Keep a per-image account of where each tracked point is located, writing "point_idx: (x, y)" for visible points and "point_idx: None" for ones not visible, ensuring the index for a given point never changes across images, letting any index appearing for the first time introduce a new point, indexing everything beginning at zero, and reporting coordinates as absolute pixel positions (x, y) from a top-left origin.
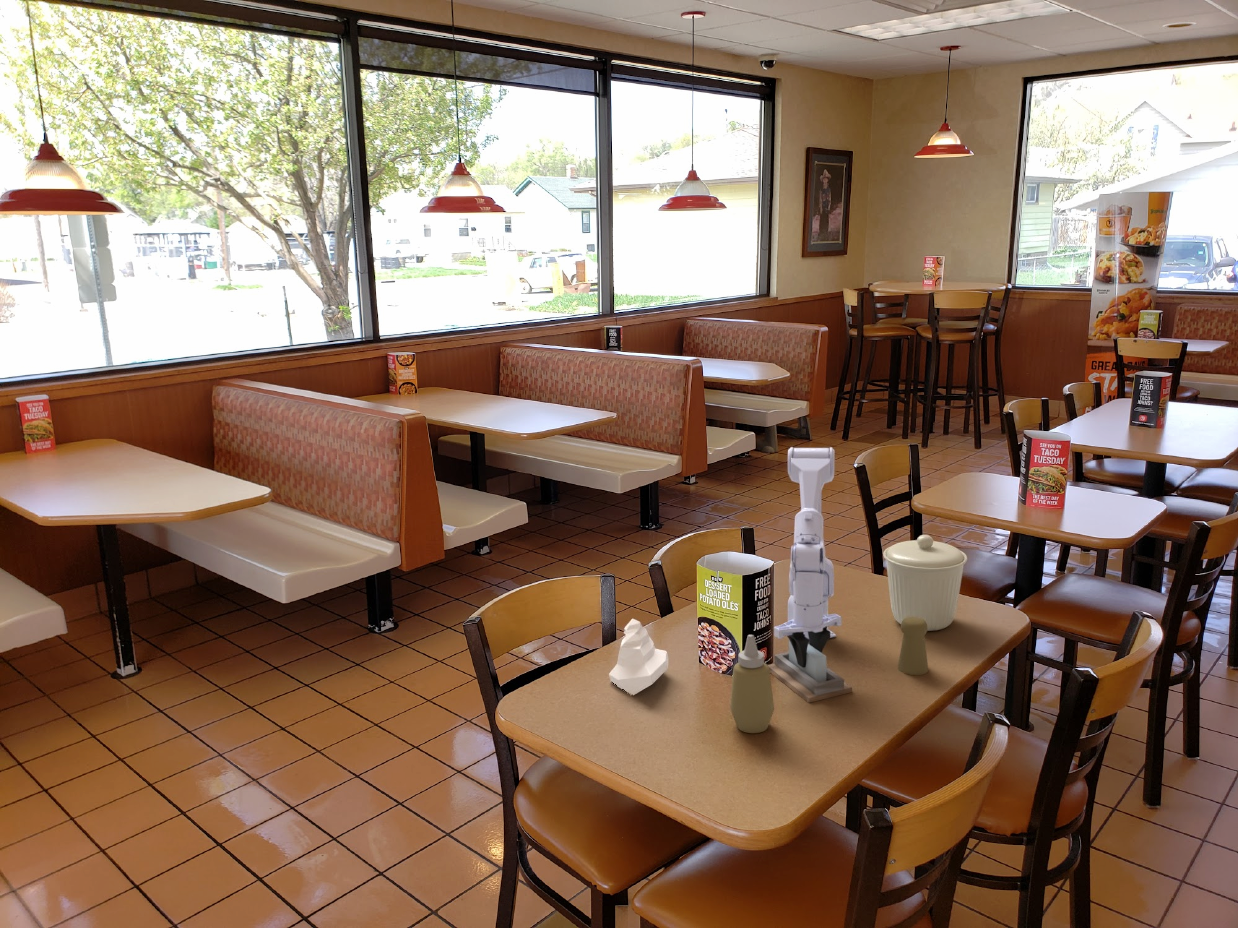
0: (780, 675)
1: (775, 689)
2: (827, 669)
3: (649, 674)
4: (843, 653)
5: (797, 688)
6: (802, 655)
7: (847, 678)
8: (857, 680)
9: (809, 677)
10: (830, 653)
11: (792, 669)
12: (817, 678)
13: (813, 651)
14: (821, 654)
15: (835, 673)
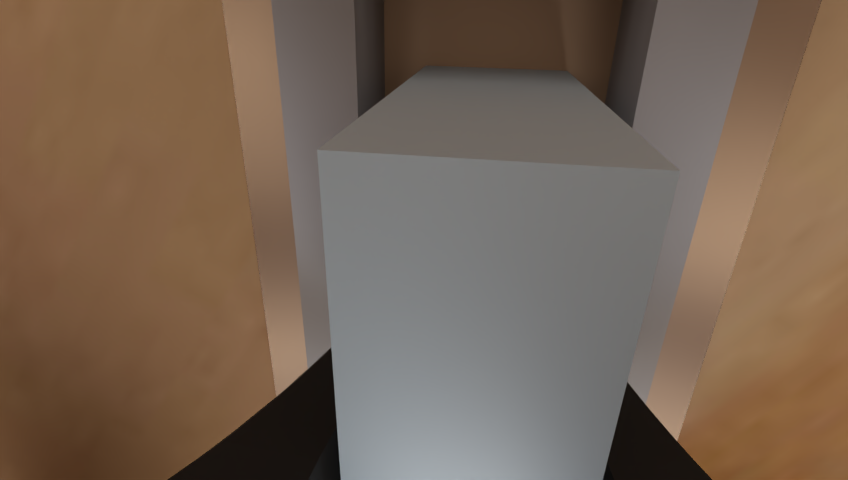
0: (679, 410)
1: (844, 283)
2: (315, 198)
3: None
4: (55, 431)
5: (763, 136)
6: (701, 472)
7: (160, 137)
8: (91, 61)
9: (654, 130)
10: (131, 467)
11: (643, 392)
12: (549, 84)
13: (443, 465)
14: (374, 291)
15: (278, 55)
